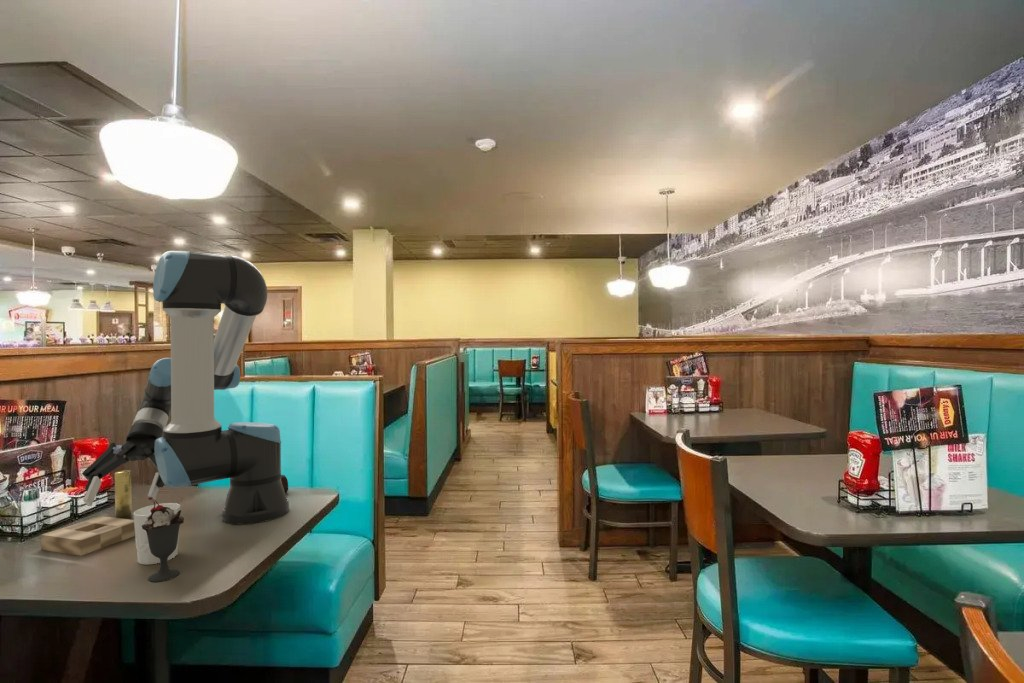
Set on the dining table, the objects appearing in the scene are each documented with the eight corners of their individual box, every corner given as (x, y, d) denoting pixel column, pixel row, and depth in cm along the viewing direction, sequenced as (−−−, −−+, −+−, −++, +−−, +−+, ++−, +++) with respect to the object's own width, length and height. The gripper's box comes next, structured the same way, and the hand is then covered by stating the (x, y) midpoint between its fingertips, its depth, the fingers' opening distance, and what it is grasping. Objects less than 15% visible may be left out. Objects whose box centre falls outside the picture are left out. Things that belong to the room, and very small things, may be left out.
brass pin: (135, 518, 128) (133, 470, 128) (121, 523, 125) (120, 473, 125) (125, 517, 129) (124, 469, 129) (112, 522, 126) (111, 472, 126)
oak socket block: (138, 536, 117) (138, 520, 117) (81, 557, 106) (80, 540, 106) (101, 531, 121) (100, 516, 121) (41, 551, 110) (40, 534, 110)
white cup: (181, 560, 104) (180, 510, 104) (132, 570, 100) (131, 518, 100) (181, 547, 110) (180, 500, 110) (135, 556, 106) (135, 507, 106)
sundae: (136, 578, 96) (134, 497, 96) (176, 565, 101) (175, 488, 101) (149, 588, 92) (147, 503, 92) (190, 574, 97) (189, 494, 97)
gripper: (202, 434, 145) (181, 504, 131) (100, 439, 140) (67, 512, 125) (194, 418, 140) (172, 488, 126) (88, 423, 135) (52, 497, 120)
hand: (119, 501), depth 126 cm, fingers open, 13 cm apart
